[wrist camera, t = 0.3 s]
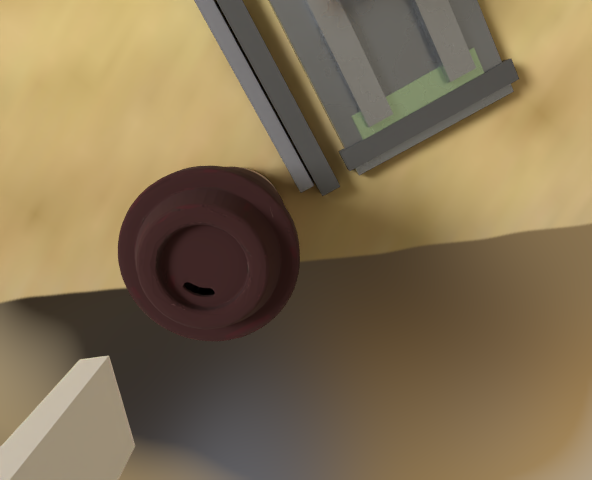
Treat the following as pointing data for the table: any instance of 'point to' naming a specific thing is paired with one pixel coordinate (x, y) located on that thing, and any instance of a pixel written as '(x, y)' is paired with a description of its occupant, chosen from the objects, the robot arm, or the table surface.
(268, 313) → the coffee cup
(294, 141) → the long dark grey rail
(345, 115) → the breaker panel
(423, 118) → the grey panel edge rail
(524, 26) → the table surface
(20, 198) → the table surface
